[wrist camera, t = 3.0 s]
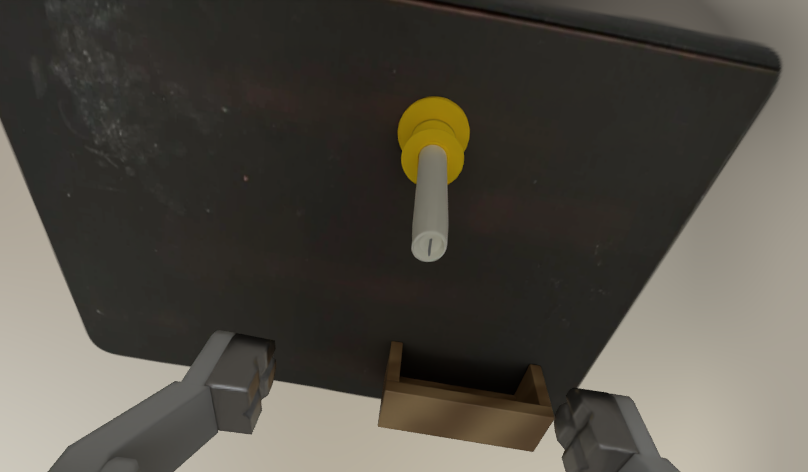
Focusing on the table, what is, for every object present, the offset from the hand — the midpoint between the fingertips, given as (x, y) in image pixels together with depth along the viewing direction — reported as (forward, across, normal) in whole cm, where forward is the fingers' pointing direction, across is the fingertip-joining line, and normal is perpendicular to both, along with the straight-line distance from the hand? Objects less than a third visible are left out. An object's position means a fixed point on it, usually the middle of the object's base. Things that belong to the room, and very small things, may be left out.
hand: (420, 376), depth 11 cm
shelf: (+21, -8, +25) cm, 34 cm away
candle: (+21, 0, 0) cm, 21 cm away
